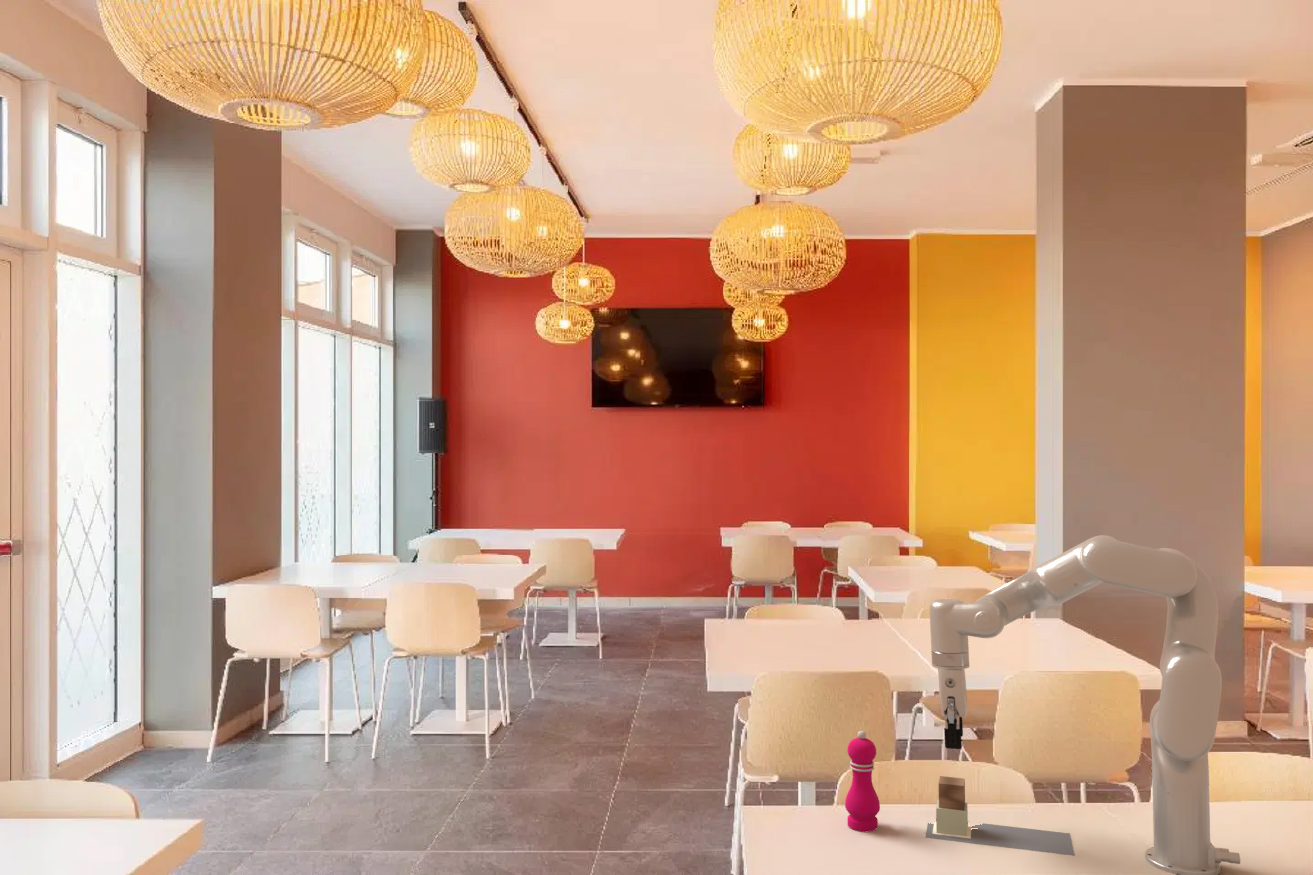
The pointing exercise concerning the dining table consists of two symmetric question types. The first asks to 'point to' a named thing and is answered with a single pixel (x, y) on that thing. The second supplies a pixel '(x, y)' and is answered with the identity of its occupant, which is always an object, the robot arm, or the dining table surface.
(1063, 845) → the build mat
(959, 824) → the sage block
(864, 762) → the pepper mill
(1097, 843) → the dining table surface
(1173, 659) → the robot arm
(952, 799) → the walnut cube
